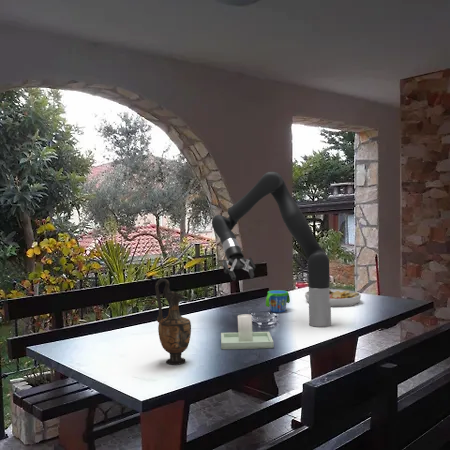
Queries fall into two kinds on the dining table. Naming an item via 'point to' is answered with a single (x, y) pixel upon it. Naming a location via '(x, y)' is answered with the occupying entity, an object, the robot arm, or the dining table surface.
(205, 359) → the dining table surface
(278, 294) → the snack cup
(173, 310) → the vase
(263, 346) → the tray
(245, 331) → the white upright cylinder
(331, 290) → the plate of food
